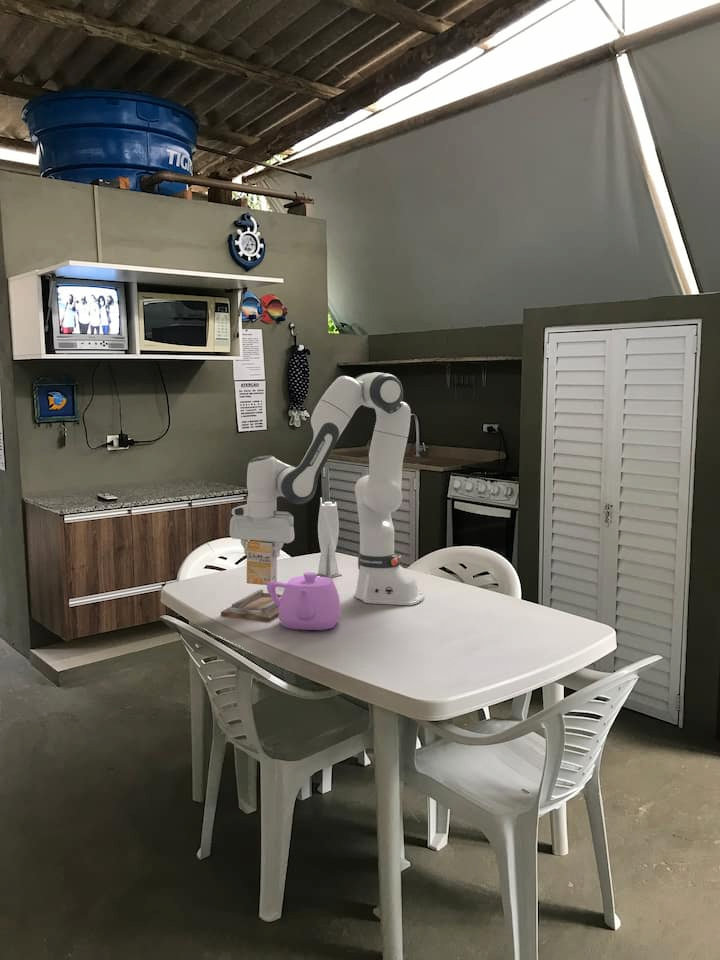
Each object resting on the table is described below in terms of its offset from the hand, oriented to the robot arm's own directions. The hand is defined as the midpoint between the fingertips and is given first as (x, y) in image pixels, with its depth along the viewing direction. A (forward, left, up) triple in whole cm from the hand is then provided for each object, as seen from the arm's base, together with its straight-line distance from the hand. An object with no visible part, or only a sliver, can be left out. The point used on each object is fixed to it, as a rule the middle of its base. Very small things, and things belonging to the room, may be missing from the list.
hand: (261, 555), depth 232 cm
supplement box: (0, 0, -9) cm, 9 cm away
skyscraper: (-3, -46, -17) cm, 49 cm away
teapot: (-20, +10, -17) cm, 28 cm away
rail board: (0, 0, -17) cm, 17 cm away
